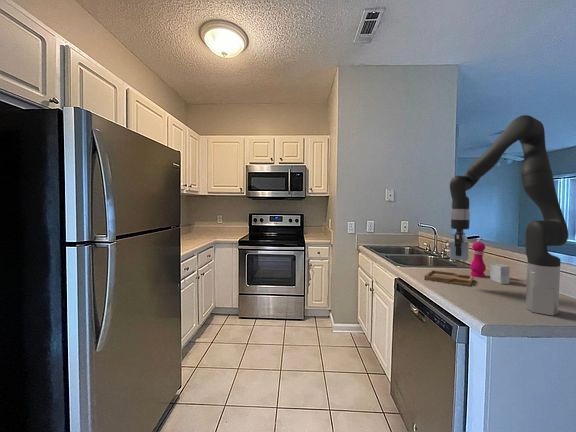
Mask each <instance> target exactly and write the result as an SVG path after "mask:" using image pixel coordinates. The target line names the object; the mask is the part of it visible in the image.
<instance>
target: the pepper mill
mask: <svg viewBox="0 0 576 432" xmlns="http://www.w3.org/2000/svg"><path fill="white" fill-rule="evenodd" d="M471 248H472V250H473V251H472V253H473V260H472V261H471V263H470V267H469V268H470V270H471V271H470V276H473V278H474V277H475V278H476V277H477V278H484V277H485V276H486V275H485V273H484V272H486V271H487V270H486V269H487V268H486V263H485V262H484V260H483V256H484V255H485V249H486V246H485V244H484V243H483V242H482V241H481V239H479V238H478V239H476V241H475V242H474V243H472V246H471Z"/></svg>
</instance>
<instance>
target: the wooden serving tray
mask: <svg viewBox="0 0 576 432" xmlns="http://www.w3.org/2000/svg"><path fill="white" fill-rule="evenodd" d="M423 280H424V281H429V280H430V281H431V282H435V281H436V283H442V282H443V283H444V284H450V285H455V286H464V287H470V286H471V285H472V283H473V281H474V276H471V275H467V274H459V273H455V272H447V271H442V270H429V272H428V273H426V274H425V275H424V279H423ZM443 283H442V284H443Z"/></svg>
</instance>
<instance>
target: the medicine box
mask: <svg viewBox="0 0 576 432" xmlns="http://www.w3.org/2000/svg"><path fill="white" fill-rule="evenodd" d="M510 269H511V268H510V266H509V265H505V264H501V263H490V278H489V279H490V281H493V282H495V283H497V284H499V285H500V284H501V285H509V284H510V272H511V271H510Z"/></svg>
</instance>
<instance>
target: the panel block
mask: <svg viewBox="0 0 576 432" xmlns="http://www.w3.org/2000/svg"><path fill="white" fill-rule="evenodd" d="M457 244H460V243H457ZM449 245H450V246H449V248H450V249H449V259H450V260H459V261H468V260H469V247H470V245H469V242H468V241H464V242H463V243H462V248H461V256H456V247H455V240H452V241H450V244H449Z"/></svg>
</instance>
